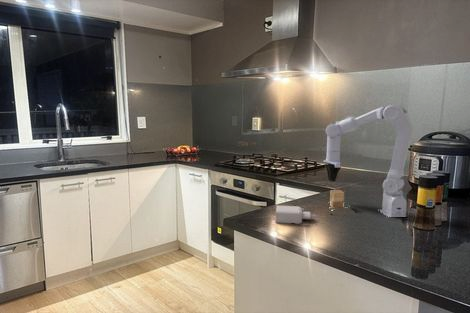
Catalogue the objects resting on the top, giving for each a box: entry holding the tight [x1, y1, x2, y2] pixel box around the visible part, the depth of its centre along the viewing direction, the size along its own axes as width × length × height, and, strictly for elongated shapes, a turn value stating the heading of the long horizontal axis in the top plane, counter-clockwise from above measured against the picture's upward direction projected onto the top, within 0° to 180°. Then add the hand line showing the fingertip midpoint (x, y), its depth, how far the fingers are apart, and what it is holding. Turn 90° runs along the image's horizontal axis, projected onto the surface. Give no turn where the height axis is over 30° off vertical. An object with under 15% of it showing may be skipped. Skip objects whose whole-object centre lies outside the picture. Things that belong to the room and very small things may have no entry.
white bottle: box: [275, 205, 317, 225], centre depth 125 cm, size 5×9×15 cm
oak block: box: [329, 189, 345, 207], centre depth 140 cm, size 4×4×7 cm
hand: (331, 180), depth 147 cm, fingers closed
